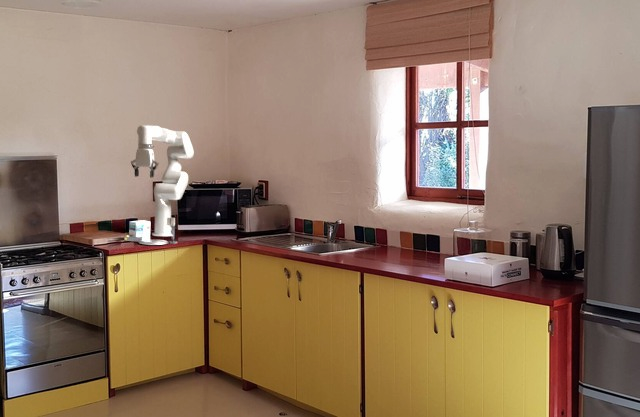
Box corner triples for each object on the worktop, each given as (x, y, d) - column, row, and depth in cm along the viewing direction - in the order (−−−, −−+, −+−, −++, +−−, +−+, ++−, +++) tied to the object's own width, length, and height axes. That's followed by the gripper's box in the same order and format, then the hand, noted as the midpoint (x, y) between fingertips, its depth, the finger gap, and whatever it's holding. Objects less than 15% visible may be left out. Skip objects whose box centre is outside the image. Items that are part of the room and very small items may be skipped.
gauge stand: (169, 242, 430) (169, 217, 428) (177, 243, 428) (177, 217, 427) (166, 243, 426) (166, 217, 425) (174, 244, 425) (174, 218, 423)
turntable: (131, 239, 435) (131, 233, 435) (172, 242, 428) (172, 237, 428) (117, 242, 420) (117, 237, 419) (159, 246, 413) (159, 241, 413)
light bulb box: (135, 241, 429) (136, 222, 428) (128, 239, 433) (128, 221, 432) (150, 239, 438) (151, 221, 437) (143, 238, 442) (143, 220, 441)
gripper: (161, 147, 429) (161, 177, 431) (134, 146, 434) (134, 175, 435) (155, 147, 422) (154, 178, 424) (128, 146, 426) (127, 176, 428)
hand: (144, 176), depth 430 cm, fingers open, 9 cm apart
